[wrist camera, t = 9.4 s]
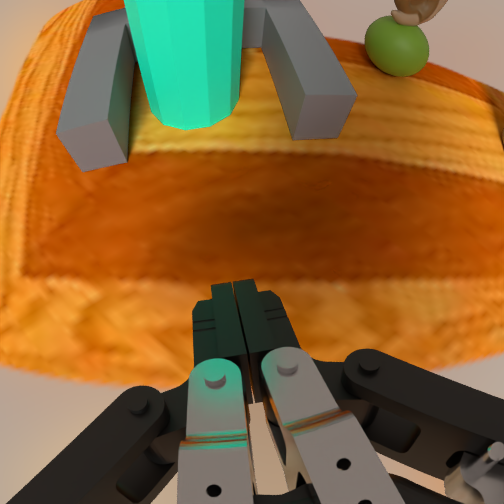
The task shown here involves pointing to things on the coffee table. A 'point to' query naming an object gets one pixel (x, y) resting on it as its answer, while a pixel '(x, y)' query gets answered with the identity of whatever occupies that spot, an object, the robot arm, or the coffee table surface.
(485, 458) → the robot arm
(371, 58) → the snail figurine
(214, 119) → the candle
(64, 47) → the coffee table surface
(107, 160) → the grey u-shaped frame
